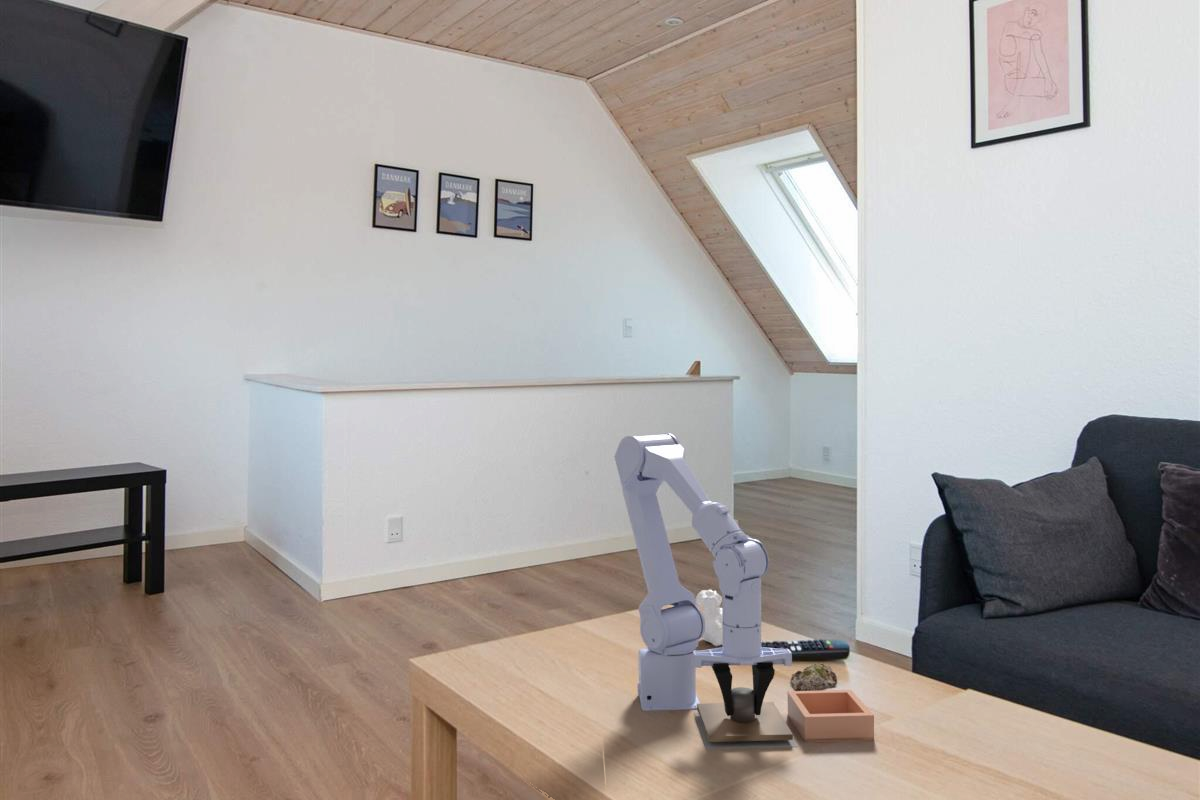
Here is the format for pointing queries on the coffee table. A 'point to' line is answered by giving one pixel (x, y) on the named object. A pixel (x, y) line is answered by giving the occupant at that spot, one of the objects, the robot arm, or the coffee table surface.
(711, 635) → the bust
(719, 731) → the walnut lid
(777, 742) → the rubber mat
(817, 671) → the mineral rock
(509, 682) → the coffee table surface
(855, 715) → the peach square box
